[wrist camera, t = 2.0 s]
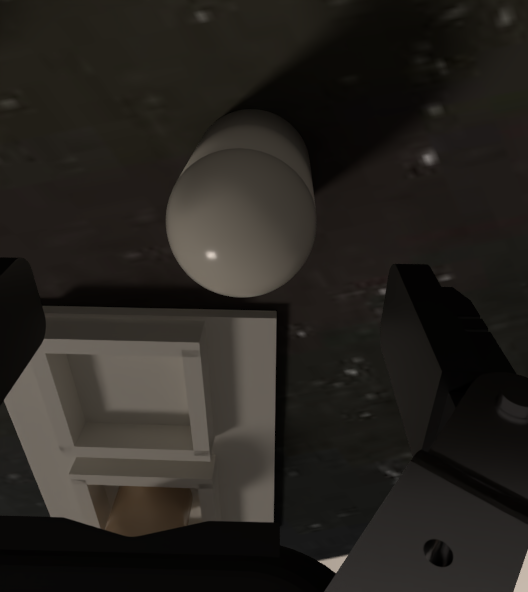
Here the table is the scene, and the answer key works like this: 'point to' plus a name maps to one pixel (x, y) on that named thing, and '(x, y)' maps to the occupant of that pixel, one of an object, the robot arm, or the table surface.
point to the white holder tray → (151, 409)
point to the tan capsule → (149, 510)
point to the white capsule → (244, 206)
